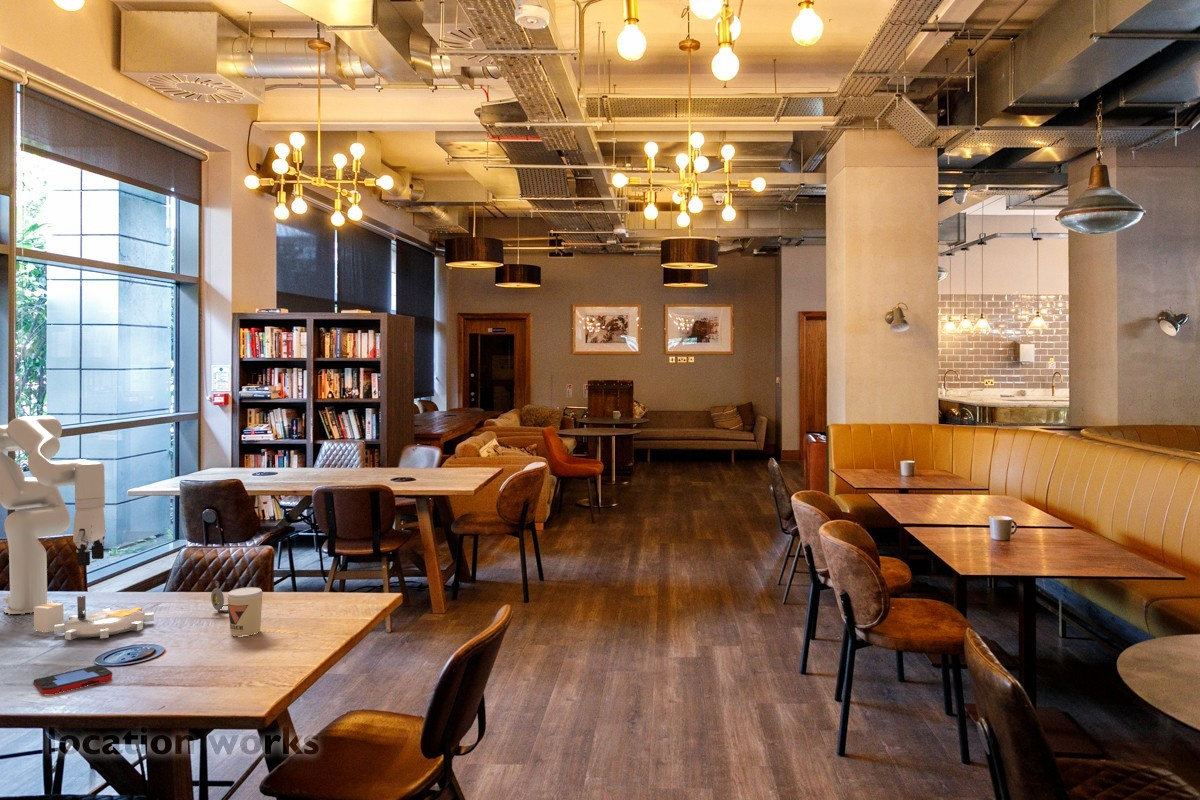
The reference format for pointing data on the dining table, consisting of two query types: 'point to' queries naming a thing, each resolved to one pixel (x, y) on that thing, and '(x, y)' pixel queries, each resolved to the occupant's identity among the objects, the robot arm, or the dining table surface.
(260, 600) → the coffee cup
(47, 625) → the link block
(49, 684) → the game console
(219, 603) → the pocket watch
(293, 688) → the dining table surface
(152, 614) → the sprocket
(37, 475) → the robot arm
